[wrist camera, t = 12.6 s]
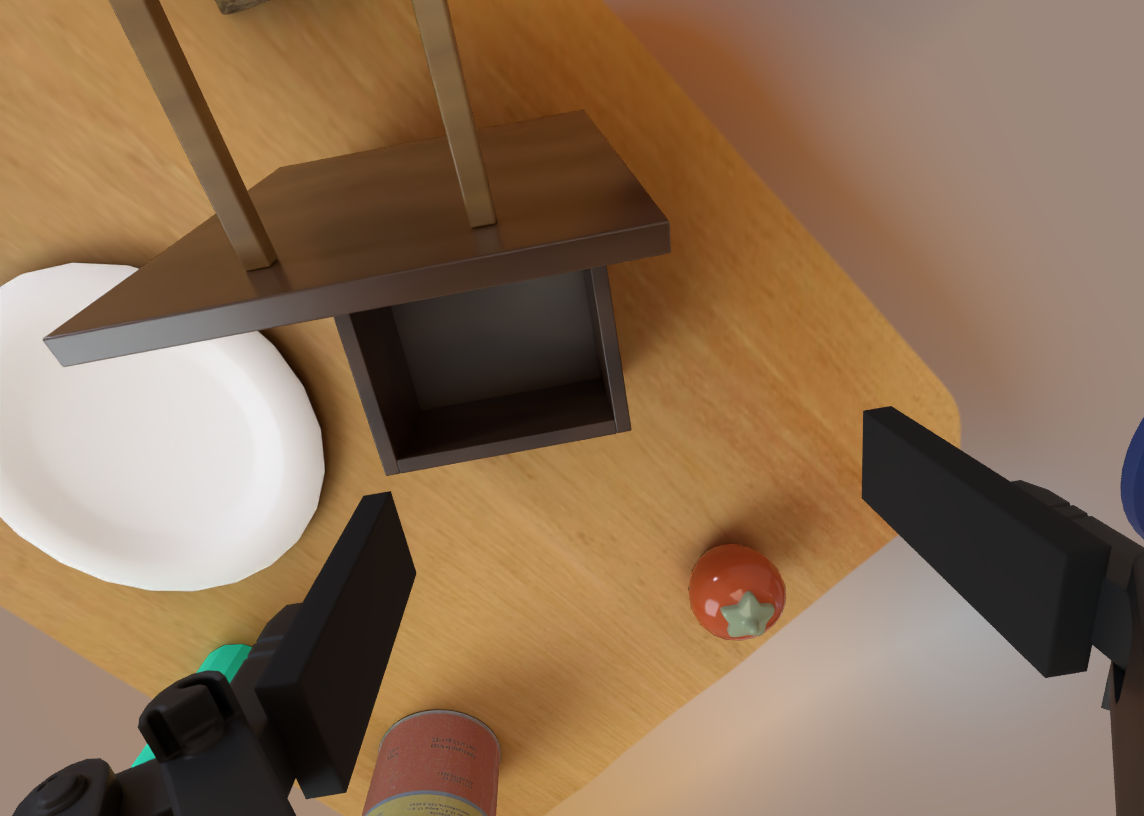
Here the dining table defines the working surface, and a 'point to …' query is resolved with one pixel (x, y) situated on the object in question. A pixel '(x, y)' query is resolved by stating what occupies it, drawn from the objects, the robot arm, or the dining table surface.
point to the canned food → (435, 768)
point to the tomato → (736, 592)
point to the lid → (365, 214)
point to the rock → (236, 5)
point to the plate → (150, 446)
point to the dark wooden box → (489, 370)
